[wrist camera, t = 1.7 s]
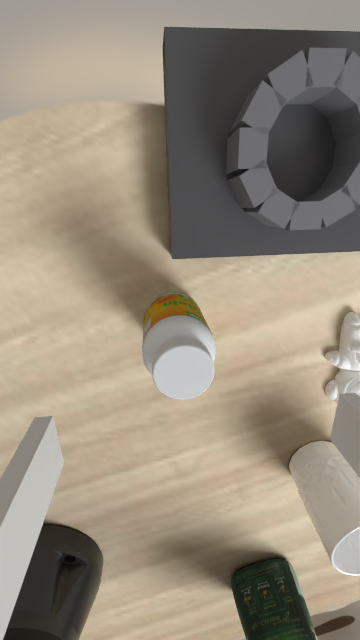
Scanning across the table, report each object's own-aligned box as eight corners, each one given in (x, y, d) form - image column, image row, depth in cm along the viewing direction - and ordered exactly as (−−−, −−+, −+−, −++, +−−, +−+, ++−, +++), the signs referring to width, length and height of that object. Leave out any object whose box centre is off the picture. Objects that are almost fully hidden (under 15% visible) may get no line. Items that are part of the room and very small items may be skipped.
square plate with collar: (170, 254, 25) (175, 266, 20) (162, 48, 20) (167, -8, 15) (366, 246, 26) (418, 255, 21) (405, 52, 21) (486, 3, 16)
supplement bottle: (208, 298, 27) (237, 344, 18) (192, 349, 28) (211, 414, 19) (151, 285, 26) (152, 326, 17) (138, 338, 27) (132, 401, 18)
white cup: (292, 435, 34) (346, 521, 25) (353, 436, 35) (427, 518, 26) (277, 484, 37) (321, 578, 27) (334, 483, 38) (395, 573, 28)
